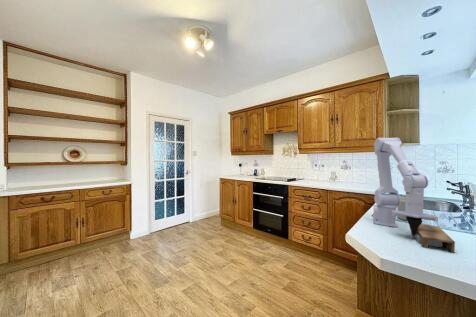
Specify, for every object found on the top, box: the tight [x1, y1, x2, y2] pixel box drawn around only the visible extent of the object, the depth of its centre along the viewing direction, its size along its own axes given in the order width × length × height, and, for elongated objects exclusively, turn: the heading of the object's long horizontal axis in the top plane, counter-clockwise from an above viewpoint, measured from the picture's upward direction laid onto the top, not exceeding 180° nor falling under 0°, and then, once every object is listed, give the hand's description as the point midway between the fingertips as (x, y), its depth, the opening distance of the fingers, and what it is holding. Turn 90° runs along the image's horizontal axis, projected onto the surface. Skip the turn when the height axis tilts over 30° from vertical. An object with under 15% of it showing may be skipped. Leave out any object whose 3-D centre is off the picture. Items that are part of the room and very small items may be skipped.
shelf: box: [417, 223, 456, 254], centre depth 83 cm, size 9×18×4 cm, turn 149°
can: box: [397, 196, 408, 222], centre depth 111 cm, size 8×8×12 cm
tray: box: [413, 231, 443, 248], centre depth 84 cm, size 7×10×3 cm
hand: (413, 234), depth 86 cm, fingers closed
